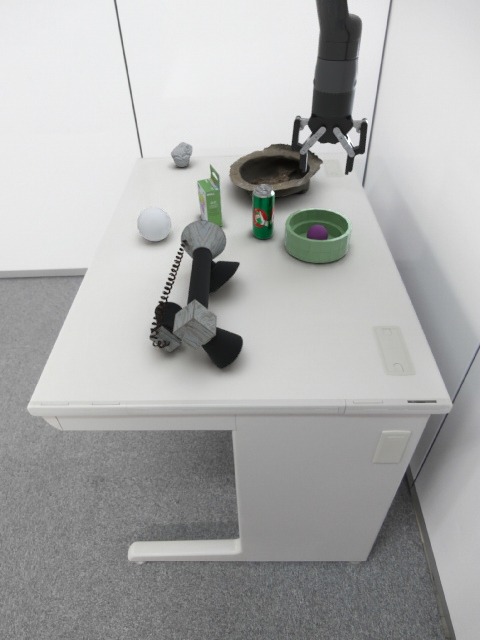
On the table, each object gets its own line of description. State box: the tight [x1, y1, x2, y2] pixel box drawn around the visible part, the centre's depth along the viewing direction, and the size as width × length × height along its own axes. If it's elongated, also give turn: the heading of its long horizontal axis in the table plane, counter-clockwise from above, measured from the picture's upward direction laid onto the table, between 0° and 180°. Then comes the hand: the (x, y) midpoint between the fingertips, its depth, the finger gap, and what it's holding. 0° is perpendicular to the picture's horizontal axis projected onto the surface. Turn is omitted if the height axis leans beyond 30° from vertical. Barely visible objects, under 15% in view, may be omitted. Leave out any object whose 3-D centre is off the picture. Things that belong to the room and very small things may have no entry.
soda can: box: [251, 184, 276, 240], centre depth 102 cm, size 5×5×12 cm
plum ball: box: [307, 225, 328, 240], centre depth 100 cm, size 5×5×5 cm
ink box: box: [196, 163, 223, 228], centre depth 107 cm, size 7×4×13 cm, turn 20°
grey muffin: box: [170, 141, 193, 168], centre depth 134 cm, size 6×7×7 cm
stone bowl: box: [228, 143, 324, 198], centre depth 120 cm, size 25×25×9 cm
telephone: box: [149, 219, 244, 369], centre depth 82 cm, size 15×13×30 cm
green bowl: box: [283, 207, 353, 264], centre depth 100 cm, size 15×15×6 cm
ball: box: [136, 206, 172, 242], centre depth 104 cm, size 8×8×8 cm
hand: (325, 172), depth 90 cm, fingers open, 8 cm apart
